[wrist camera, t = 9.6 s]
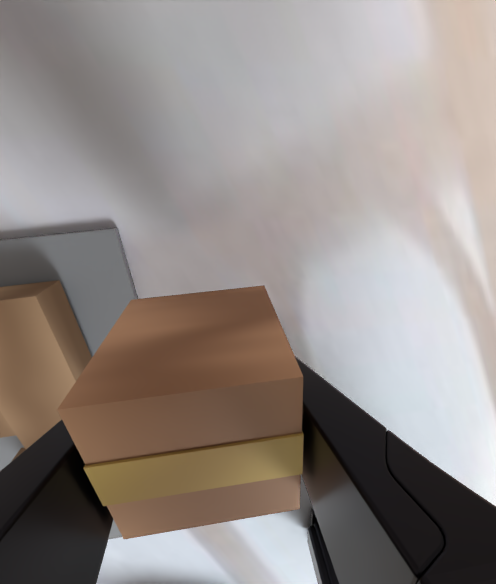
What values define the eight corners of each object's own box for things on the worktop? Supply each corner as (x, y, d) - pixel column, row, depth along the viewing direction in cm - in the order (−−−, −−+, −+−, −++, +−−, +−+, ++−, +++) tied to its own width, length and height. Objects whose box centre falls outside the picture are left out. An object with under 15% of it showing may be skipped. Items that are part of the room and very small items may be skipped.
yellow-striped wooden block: (264, 285, 8) (305, 378, 4) (269, 384, 10) (301, 511, 6) (130, 300, 8) (54, 412, 4) (158, 399, 9) (122, 542, 6)
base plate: (117, 227, 12) (114, 229, 12) (201, 517, 23) (201, 522, 22) (-162, 256, 12) (-174, 259, 11) (58, 542, 22) (55, 548, 22)
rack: (59, 280, 12) (-57, 358, 7) (137, 466, 18) (105, 584, 13) (-77, 295, 12) (-307, 391, 7) (47, 480, 18) (-24, 609, 13)
